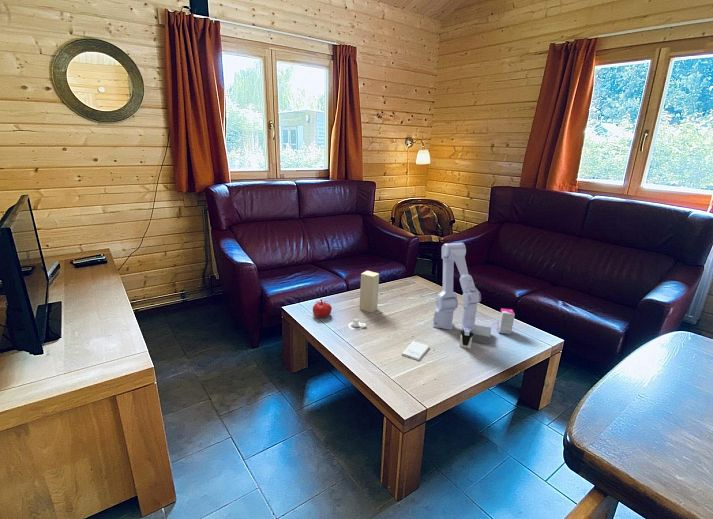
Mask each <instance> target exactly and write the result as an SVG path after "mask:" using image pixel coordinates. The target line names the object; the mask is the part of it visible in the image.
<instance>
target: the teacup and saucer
mask: <svg viewBox="0 0 713 519" xmlns="http://www.w3.org/2000/svg"><path fill="white" fill-rule="evenodd" d="M351 325H352V326H353V327H351ZM347 326H348V328H349V329H351V330H353V331H354V330H356V331H357V330H362V329H364V328H365V327H367V324H366V323H365V322H360V318H358V317H354V318H352V319H351V320H350V323H348V325H347ZM354 327H355V328H354ZM357 327H359V328H357Z"/></svg>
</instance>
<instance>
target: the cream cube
mask: <svg viewBox="0 0 713 519" xmlns="http://www.w3.org/2000/svg"><path fill="white" fill-rule="evenodd" d="M472 342H473V341H472V337H471V339H470V341H469V344H468V346H466V345H463V341H462V335H461V334H460V338H459V347H462V348H467V349H471V347H472Z"/></svg>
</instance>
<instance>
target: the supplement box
mask: <svg viewBox="0 0 713 519" xmlns="http://www.w3.org/2000/svg"><path fill="white" fill-rule="evenodd" d="M515 316H516V314H515V312H514V310H513V309H511V308H500V312H499V318H498V323H497V331H498V334H500V335H506V334H507V335H508V336H511V335H512V331H513V326H514V320H515Z"/></svg>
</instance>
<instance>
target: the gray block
mask: <svg viewBox="0 0 713 519" xmlns="http://www.w3.org/2000/svg"><path fill="white" fill-rule="evenodd" d="M476 325H477V328H473V329H472V331H471V333H473V336H472V342H478V343H482V344H487V345H490V344H491V338H492V337H491V334H492V333H491V332H492V327H490V326H485V325H484V326H483V325H478V324H476Z"/></svg>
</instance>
